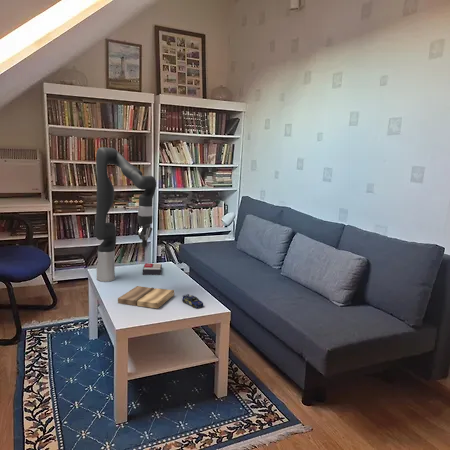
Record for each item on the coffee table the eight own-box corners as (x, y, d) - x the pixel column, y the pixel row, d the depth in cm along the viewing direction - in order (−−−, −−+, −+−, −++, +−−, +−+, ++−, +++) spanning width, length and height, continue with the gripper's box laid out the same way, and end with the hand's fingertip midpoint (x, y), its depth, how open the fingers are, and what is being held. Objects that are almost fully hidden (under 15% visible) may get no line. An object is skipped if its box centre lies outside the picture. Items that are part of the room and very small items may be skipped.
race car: (208, 307, 197) (209, 299, 196) (199, 311, 192) (199, 302, 191) (187, 299, 206) (188, 291, 206) (178, 303, 201) (178, 294, 201)
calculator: (161, 263, 258) (160, 268, 243) (161, 269, 259) (160, 275, 244) (144, 262, 257) (142, 268, 242) (144, 269, 257) (142, 275, 242)
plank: (137, 305, 194) (137, 300, 193) (155, 292, 213) (155, 288, 212) (158, 308, 191) (158, 303, 190) (174, 294, 210) (174, 289, 209)
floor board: (117, 303, 196) (117, 297, 196) (137, 290, 215) (137, 285, 215) (136, 306, 194) (136, 300, 193) (154, 292, 213) (154, 287, 212)
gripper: (144, 211, 215) (144, 243, 218) (132, 215, 202) (131, 248, 205) (157, 213, 213) (156, 244, 216) (146, 217, 200) (145, 250, 203)
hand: (144, 246), depth 211 cm, fingers closed
